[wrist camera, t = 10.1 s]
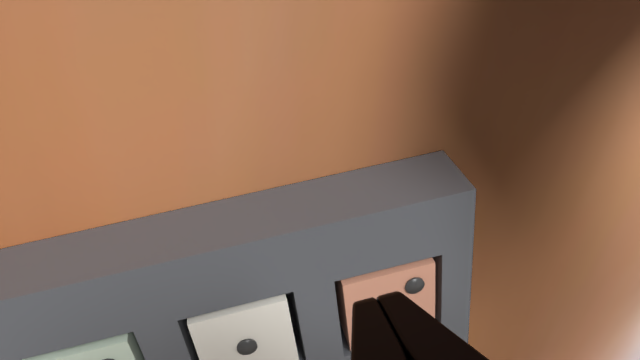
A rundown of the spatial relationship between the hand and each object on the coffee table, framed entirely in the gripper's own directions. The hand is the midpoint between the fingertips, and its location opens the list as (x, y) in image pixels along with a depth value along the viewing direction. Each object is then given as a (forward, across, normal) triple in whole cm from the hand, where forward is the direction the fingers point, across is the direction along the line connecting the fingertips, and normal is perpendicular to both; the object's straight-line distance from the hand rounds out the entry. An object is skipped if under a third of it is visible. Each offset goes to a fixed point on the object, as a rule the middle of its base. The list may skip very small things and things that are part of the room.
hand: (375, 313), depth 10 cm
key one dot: (+11, +3, +10) cm, 15 cm away
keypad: (+12, +3, +10) cm, 16 cm away
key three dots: (+11, -3, +10) cm, 15 cm away
